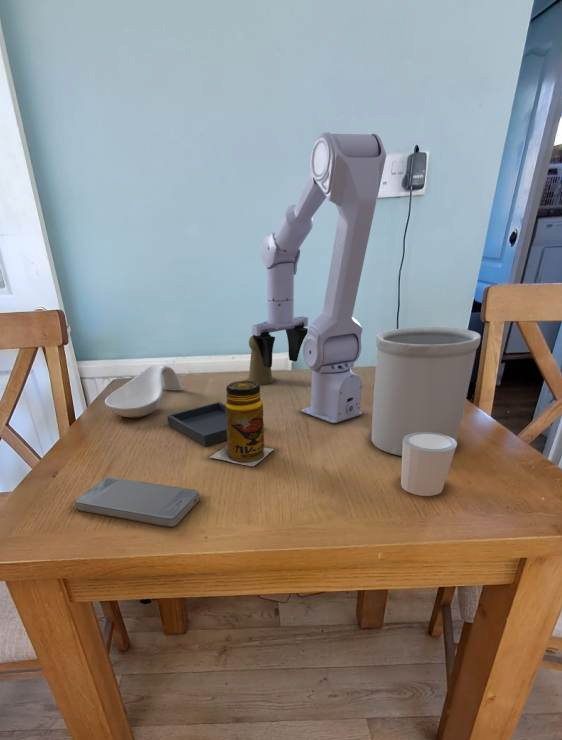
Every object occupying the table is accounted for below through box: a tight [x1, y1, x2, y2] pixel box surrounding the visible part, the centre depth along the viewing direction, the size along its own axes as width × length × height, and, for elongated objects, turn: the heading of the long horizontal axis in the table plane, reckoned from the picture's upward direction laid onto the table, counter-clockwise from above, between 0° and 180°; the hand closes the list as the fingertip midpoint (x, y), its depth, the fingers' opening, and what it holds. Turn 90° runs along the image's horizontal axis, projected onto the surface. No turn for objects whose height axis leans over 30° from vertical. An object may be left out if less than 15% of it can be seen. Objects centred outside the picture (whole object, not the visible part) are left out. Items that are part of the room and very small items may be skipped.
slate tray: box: [166, 401, 227, 448], centre depth 89 cm, size 14×12×2 cm
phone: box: [74, 476, 200, 528], centre depth 65 cm, size 8×16×1 cm, turn 68°
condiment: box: [209, 380, 274, 467], centre depth 75 cm, size 7×8×12 cm
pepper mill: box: [248, 335, 274, 386], centre depth 113 cm, size 6×6×11 cm
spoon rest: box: [104, 364, 182, 419], centre depth 102 cm, size 24×12×7 cm, turn 162°
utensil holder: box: [371, 326, 482, 457], centre depth 75 cm, size 15×15×18 cm
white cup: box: [400, 432, 458, 497], centre depth 64 cm, size 7×7×7 cm
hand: (280, 363), depth 107 cm, fingers open, 7 cm apart
